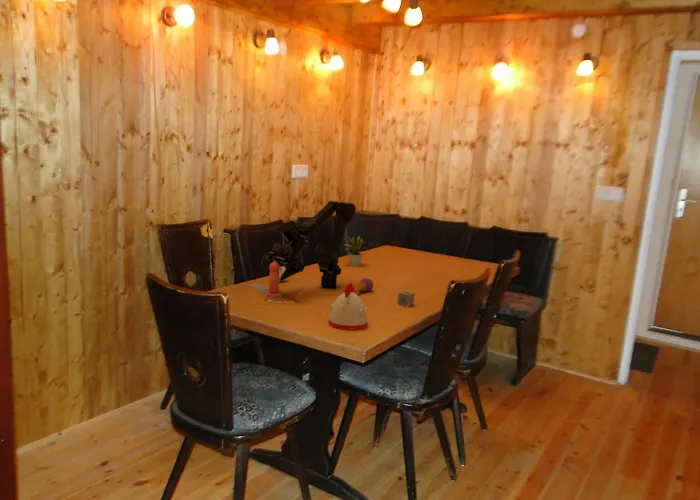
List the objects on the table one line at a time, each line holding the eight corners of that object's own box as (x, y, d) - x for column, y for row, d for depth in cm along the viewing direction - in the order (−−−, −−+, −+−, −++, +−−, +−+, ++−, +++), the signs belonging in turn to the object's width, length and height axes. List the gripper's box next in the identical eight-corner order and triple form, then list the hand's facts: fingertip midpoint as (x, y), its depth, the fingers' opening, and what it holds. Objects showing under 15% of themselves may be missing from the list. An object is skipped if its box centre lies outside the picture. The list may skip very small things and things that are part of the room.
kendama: (340, 288, 237) (362, 276, 254) (342, 302, 238) (364, 289, 255) (352, 288, 234) (374, 276, 251) (354, 302, 235) (376, 289, 252)
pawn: (277, 293, 234) (279, 260, 232) (282, 297, 229) (283, 263, 227) (264, 294, 232) (265, 260, 229) (269, 298, 227) (270, 263, 224)
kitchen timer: (322, 326, 199) (324, 284, 196) (337, 316, 211) (339, 277, 209) (359, 332, 194) (362, 290, 191) (372, 322, 207) (375, 282, 204)
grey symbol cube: (408, 307, 229) (409, 295, 228) (397, 304, 232) (398, 293, 231) (413, 304, 233) (414, 292, 233) (402, 302, 236) (403, 290, 235)
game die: (281, 291, 256) (285, 277, 249) (265, 283, 257) (268, 269, 250) (290, 279, 262) (294, 265, 255) (274, 271, 263) (277, 257, 256)
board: (243, 286, 247) (243, 283, 247) (261, 284, 251) (261, 282, 251) (268, 301, 225) (268, 299, 224) (288, 299, 229) (288, 297, 229)
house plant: (343, 261, 313) (345, 232, 310) (368, 263, 311) (370, 234, 308) (339, 266, 299) (341, 235, 296) (365, 268, 297) (367, 237, 294)
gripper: (269, 232, 236) (247, 261, 229) (300, 239, 223) (278, 270, 217) (283, 249, 243) (262, 277, 237) (313, 256, 231) (292, 287, 225)
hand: (273, 277), depth 229 cm, fingers open, 9 cm apart
